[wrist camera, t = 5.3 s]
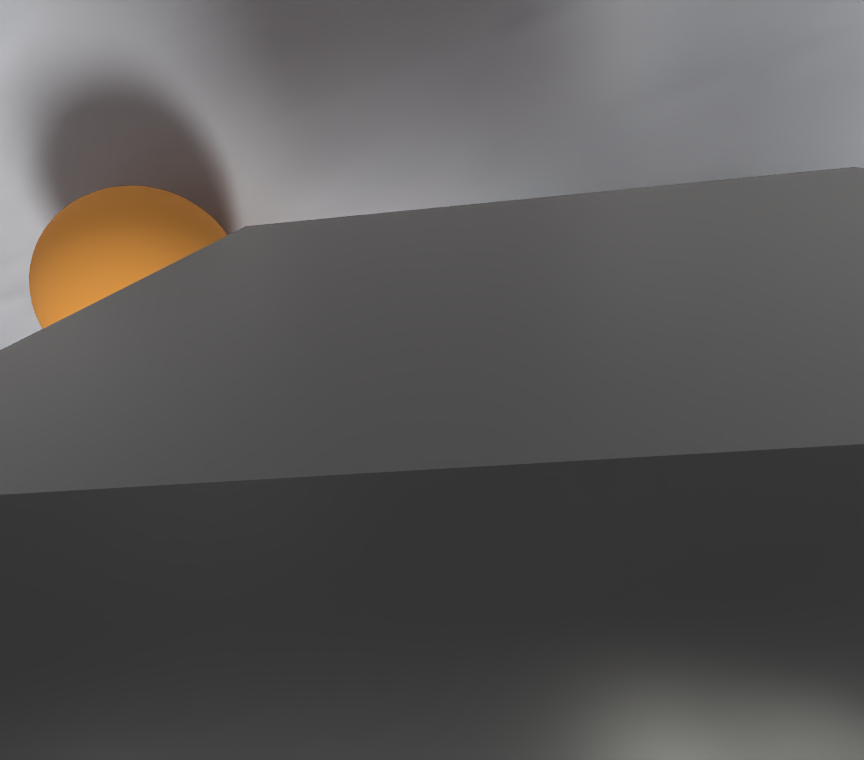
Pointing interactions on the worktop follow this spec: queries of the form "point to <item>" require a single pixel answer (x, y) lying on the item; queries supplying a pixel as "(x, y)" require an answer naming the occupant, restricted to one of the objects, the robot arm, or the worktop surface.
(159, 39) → the worktop surface
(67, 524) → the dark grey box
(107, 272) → the ball
